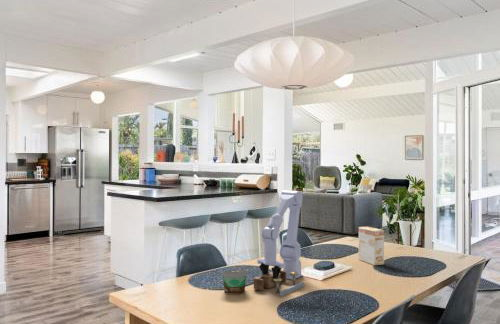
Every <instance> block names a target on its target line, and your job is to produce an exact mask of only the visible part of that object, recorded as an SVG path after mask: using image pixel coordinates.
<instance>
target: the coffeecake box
mask: <svg viewBox="0 0 500 324" xmlns="http://www.w3.org/2000/svg"><path fill="white" fill-rule="evenodd" d="M358 260H359V261H361V262H364V263H367V264H370V265H373V266H380V265H381V266H382V265H385V230H384V229H380V228H376V227H371V226H367V225H366V226H358Z"/></svg>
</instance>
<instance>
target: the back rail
mask: <svg viewBox="0 0 500 324" xmlns="http://www.w3.org/2000/svg"><path fill="white" fill-rule="evenodd" d="M304 287H305V282H304V281H301V282H299V283H295V285H294V286H293V285H291V286H289V287H287V288H284V289H282V290H279V296H280V297H283V296H286V295H288V294H290V293H292V292H294V291H296V290H300V289H301V288H304Z"/></svg>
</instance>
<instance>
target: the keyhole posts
mask: <svg viewBox="0 0 500 324" xmlns="http://www.w3.org/2000/svg"><path fill="white" fill-rule="evenodd" d="M290 275H293V280H292V286H294V285H296V278H295V275H298V272H290ZM273 281H275V282H276V286H275V287H276V288H275V289H276V291H275V293H276V294H280V284H279V282H280V281H281V282H283V281H282V278H273Z"/></svg>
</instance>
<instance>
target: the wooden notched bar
mask: <svg viewBox="0 0 500 324" xmlns="http://www.w3.org/2000/svg"><path fill="white" fill-rule="evenodd" d="M278 278H282V281H280V282H279V285H281V282H283V283H286V282H287V278H286V271H283V269H281V271H280V273H279V275H278ZM273 287H276V282H273V273H272V271H270V272H268V273H267V274H264V275H263V274H261V275H259V276H256V277H253V290H257V291H261V292H263V291H264V290H265V288H266V289H271V288H273Z"/></svg>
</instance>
